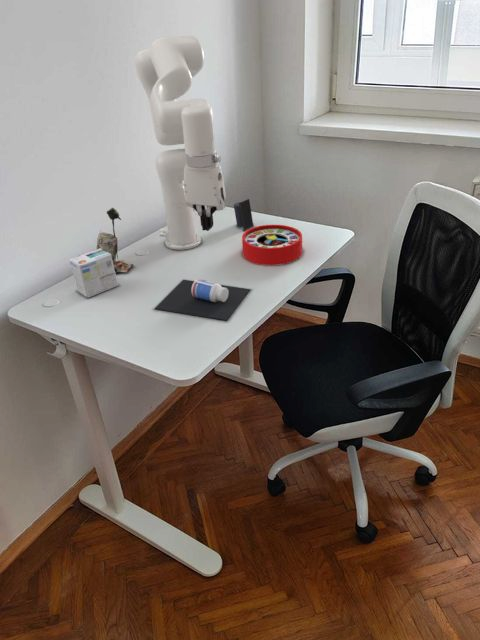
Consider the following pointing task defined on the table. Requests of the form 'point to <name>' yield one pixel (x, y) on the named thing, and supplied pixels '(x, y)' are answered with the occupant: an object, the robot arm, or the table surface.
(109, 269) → the light bulb box
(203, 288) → the pill bottle
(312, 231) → the table surface
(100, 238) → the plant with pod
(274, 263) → the toy clock
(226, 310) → the desk mat
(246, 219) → the speaker
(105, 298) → the table surface
